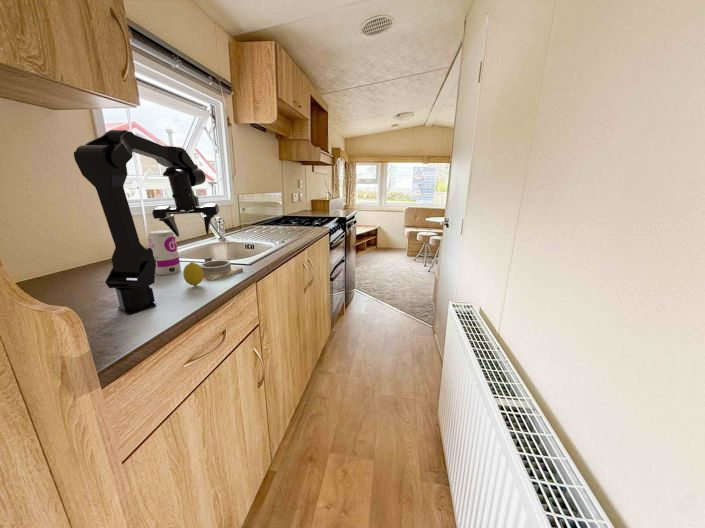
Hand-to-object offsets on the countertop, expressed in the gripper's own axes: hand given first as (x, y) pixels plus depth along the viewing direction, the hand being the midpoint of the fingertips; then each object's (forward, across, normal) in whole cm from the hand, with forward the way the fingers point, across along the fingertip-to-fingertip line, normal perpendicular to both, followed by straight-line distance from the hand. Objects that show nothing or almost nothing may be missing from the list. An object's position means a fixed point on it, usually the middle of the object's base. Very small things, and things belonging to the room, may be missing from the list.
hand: (193, 235), depth 96 cm
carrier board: (+14, -5, +1) cm, 15 cm away
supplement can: (+14, +12, -3) cm, 19 cm away
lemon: (+12, -1, +15) cm, 19 cm away
